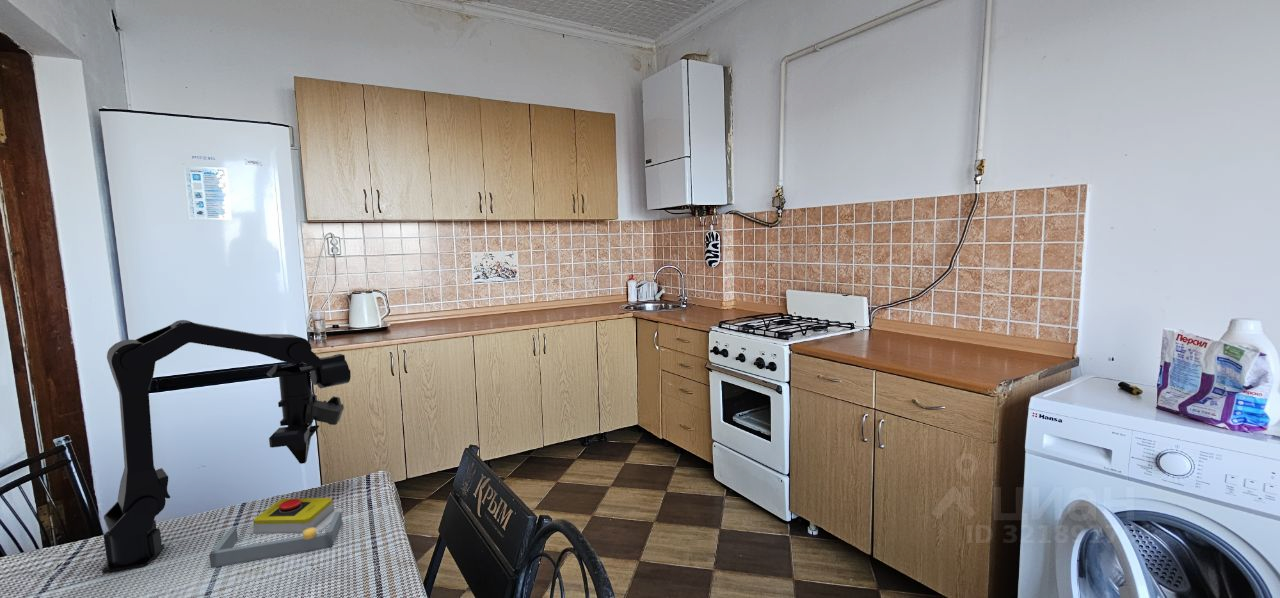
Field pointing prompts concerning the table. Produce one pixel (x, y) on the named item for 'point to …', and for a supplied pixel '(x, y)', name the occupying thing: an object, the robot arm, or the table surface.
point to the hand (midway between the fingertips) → (303, 462)
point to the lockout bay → (273, 545)
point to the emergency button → (295, 516)
